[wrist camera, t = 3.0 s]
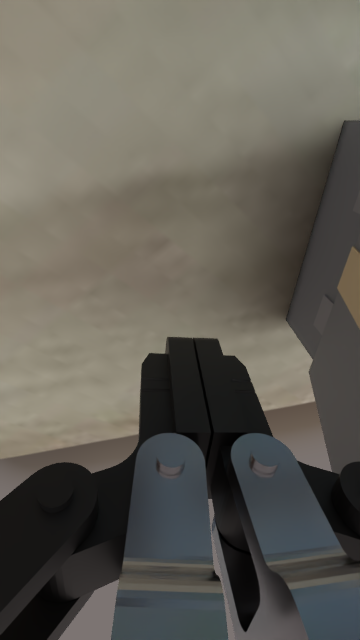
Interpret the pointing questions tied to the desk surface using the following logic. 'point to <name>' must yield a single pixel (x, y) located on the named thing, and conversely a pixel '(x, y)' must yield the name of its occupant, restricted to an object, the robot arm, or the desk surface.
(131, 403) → the desk surface
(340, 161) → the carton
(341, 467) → the lid
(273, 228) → the desk surface
